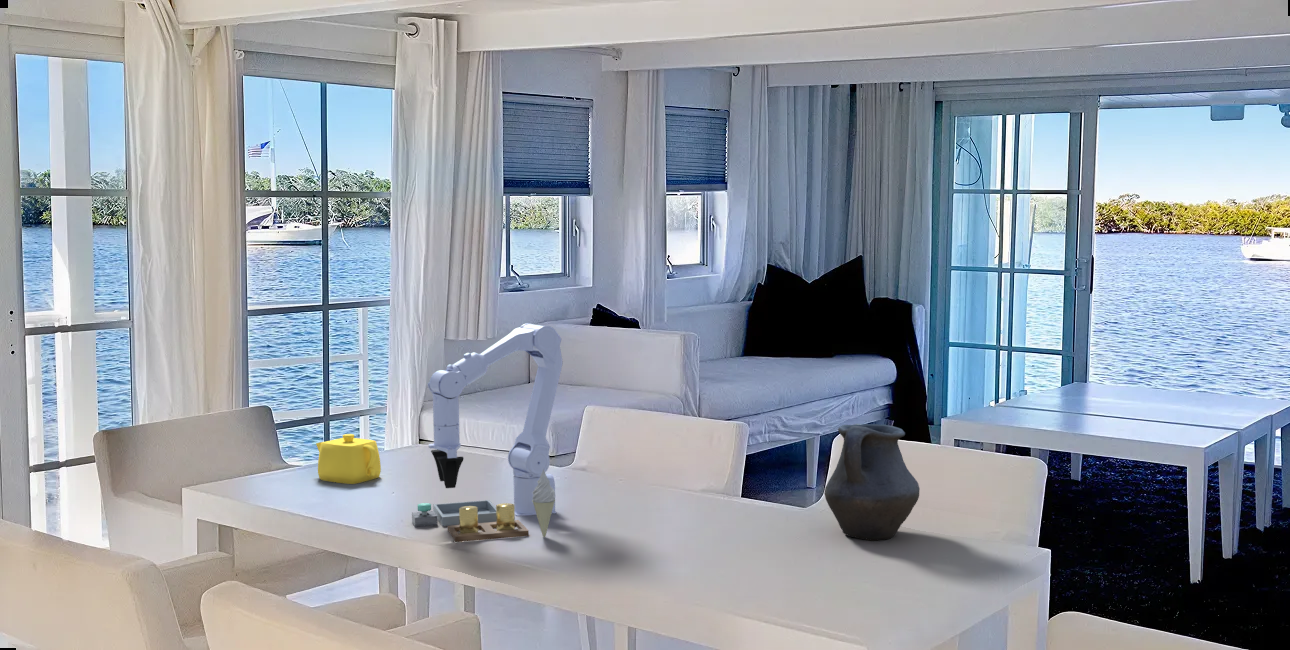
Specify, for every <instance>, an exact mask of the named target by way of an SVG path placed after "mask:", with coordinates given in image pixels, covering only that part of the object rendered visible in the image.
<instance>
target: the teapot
mask: <svg viewBox="0 0 1290 650" xmlns="http://www.w3.org/2000/svg"><path fill="white" fill-rule="evenodd" d="M315 445H316V447H317V450H318V460H317V461H318V463H317V474H318V477H319V480H321V481H324V482H330V483H335V482H336V483H338V484H345V485H356V484H361V483H364V482H369V481H372V480H376V479H379V478H380V476H381V472H382V471H381V470H382V467H381V458H380V457H381V456H380V452H379V448H378V445H377V441H376V440H373V439H365V438H359V437H355V434H354V433H345V434H342V437H341V438H335V439H331V440H327V441H320V442H316V443H315ZM336 483H335V484H336Z"/></svg>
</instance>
